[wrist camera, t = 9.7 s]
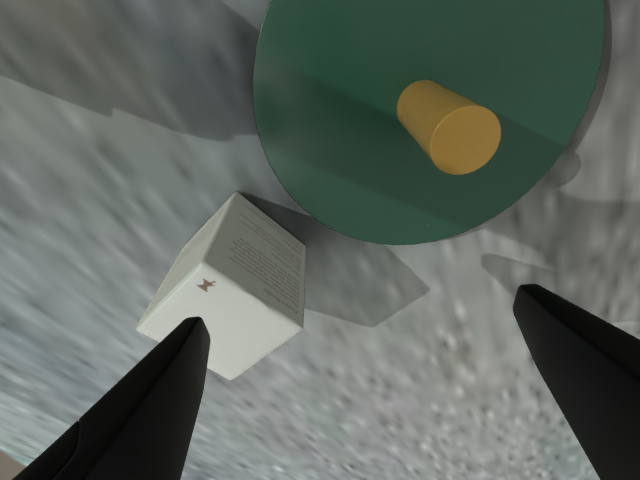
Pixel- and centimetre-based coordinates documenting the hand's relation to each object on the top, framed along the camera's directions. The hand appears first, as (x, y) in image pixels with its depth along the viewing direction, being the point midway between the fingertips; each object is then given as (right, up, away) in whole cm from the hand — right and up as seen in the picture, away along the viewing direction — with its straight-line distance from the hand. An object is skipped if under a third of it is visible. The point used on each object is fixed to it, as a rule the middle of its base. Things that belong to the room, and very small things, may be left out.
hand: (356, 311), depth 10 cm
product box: (-6, +2, +13) cm, 15 cm away
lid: (+4, +9, +7) cm, 12 cm away
